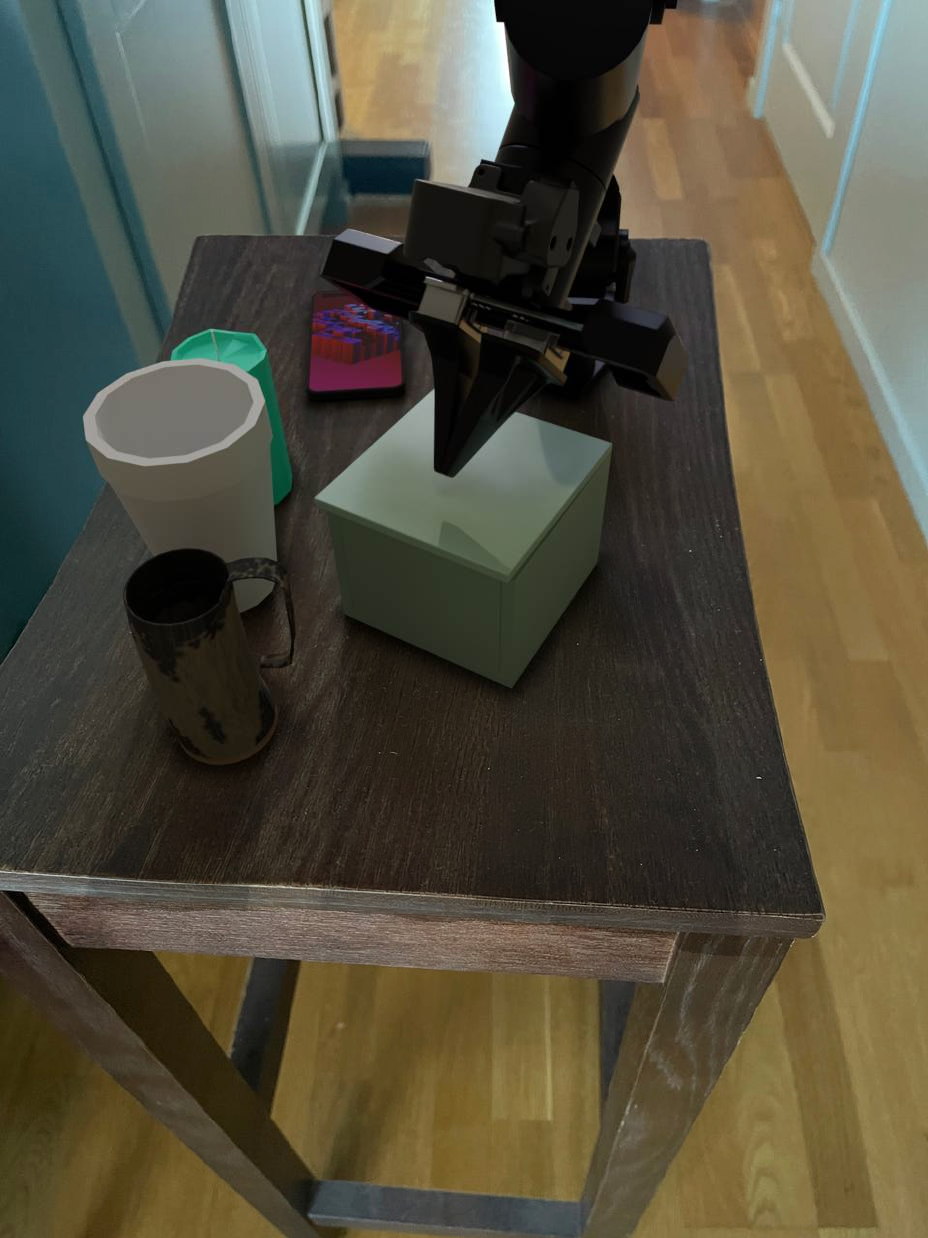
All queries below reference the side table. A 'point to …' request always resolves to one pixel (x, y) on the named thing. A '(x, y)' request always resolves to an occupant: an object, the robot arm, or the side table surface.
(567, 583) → the green bin
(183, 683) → the mug
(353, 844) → the side table surface
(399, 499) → the bin lid
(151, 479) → the foam cup
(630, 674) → the side table surface
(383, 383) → the smartphone
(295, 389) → the side table surface
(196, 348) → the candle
